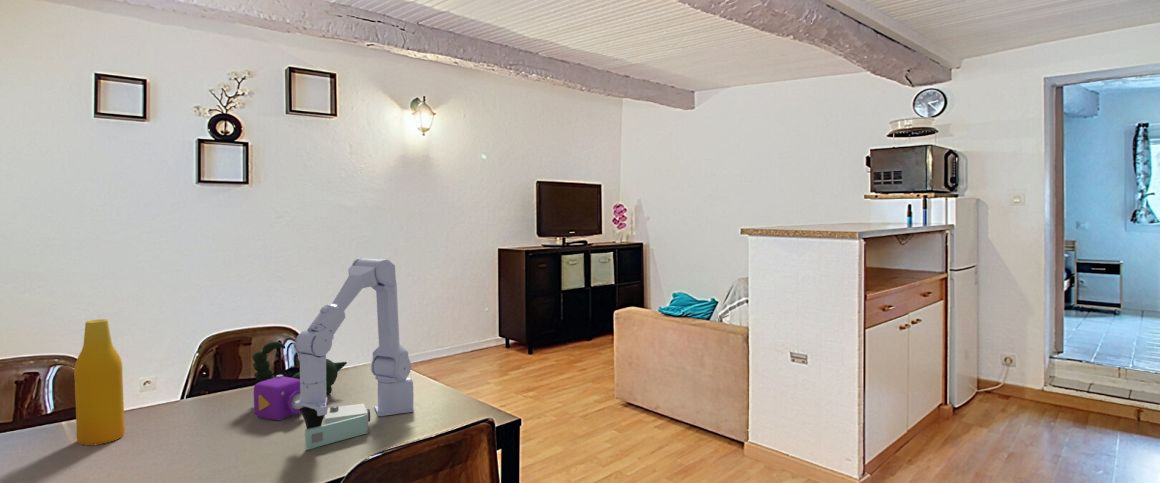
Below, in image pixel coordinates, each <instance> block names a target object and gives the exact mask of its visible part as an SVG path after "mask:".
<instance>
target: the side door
mask: <svg viewBox="0 0 1160 483" xmlns="http://www.w3.org/2000/svg"><path fill="white" fill-rule="evenodd" d="M365 434H369V422H368V414H364V415H361V416H357V417H353V418H349V419H345V420H342V421H338V422H334V423H330V424H326V425H323V424H321V426H318V427H314V428H310V429H307V428H306V429H304V449H305V450H307V451H308V450H311V449H315V448H318V447H322V446H325V445H326V446H327V445H329V444H333V443H337V442H340V441H343V440H347V439H351V438H354V437H359V436H362V435H365Z"/></svg>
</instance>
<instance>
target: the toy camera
mask: <svg viewBox="0 0 1160 483" xmlns="http://www.w3.org/2000/svg"><path fill="white" fill-rule="evenodd" d="M298 400H300V379H295V378H292V377H288V376H284V374H277V375H276V376H275V378H272V379H269V380H265V381H262V382H260V381H259V382H257V383H255V384H254V385H253V412H254V415H255V416H256V417H258V418H263V419H266V420H272V421H280V420H284V419H287V418H289V417H292V416H294V415H297V414H301V412H300V410H299V409H300V408H303V407H305V406H302V405H300V406H296V405H295V401H298Z"/></svg>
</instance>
